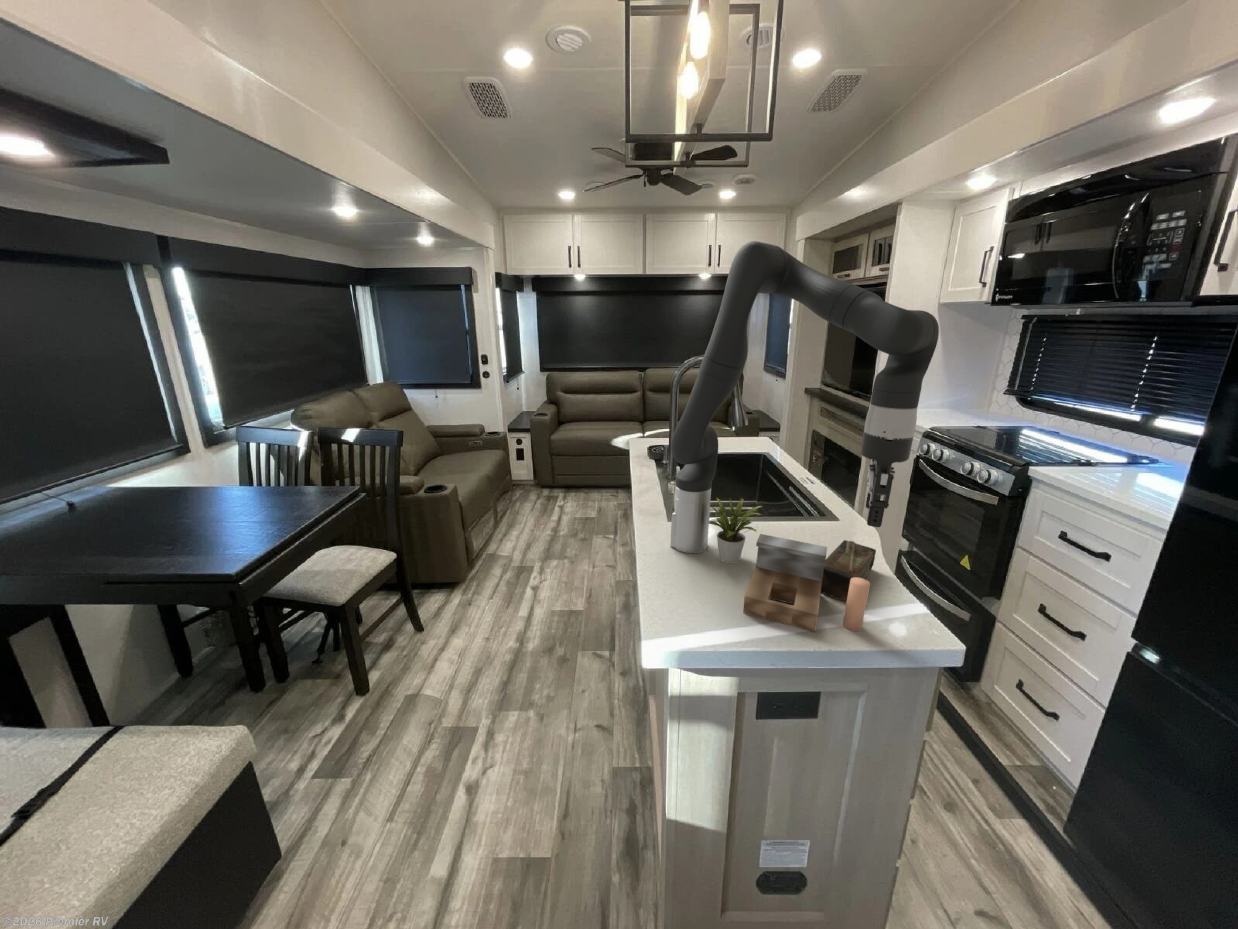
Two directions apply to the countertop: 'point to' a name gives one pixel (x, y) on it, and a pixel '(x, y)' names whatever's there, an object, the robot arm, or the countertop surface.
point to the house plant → (732, 531)
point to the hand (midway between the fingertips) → (872, 516)
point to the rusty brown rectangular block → (846, 568)
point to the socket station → (786, 582)
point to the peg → (856, 603)
